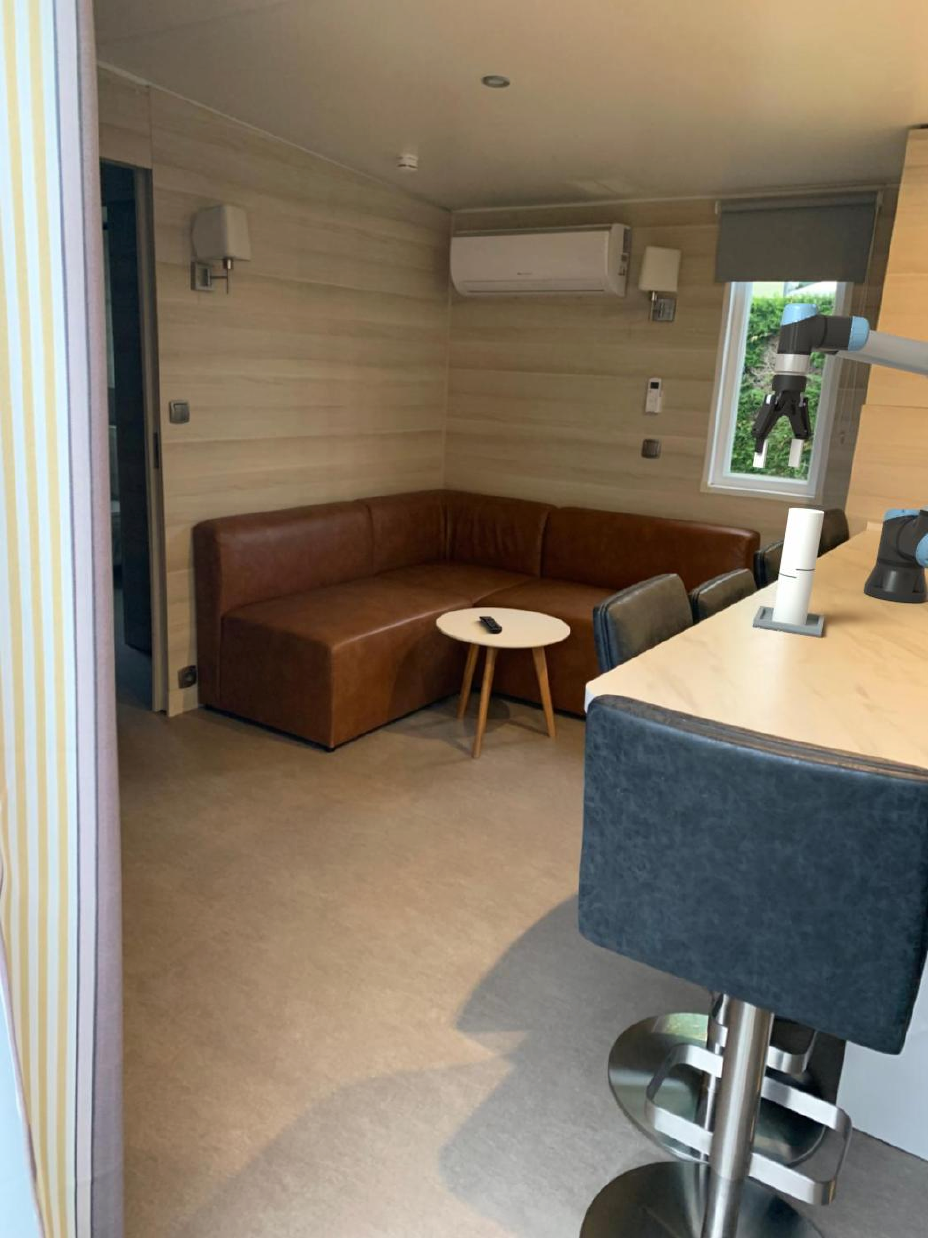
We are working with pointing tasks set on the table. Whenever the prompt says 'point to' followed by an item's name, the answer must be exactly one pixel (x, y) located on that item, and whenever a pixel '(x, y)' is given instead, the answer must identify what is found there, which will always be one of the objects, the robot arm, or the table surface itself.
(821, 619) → the tray
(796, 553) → the cylindrical container
